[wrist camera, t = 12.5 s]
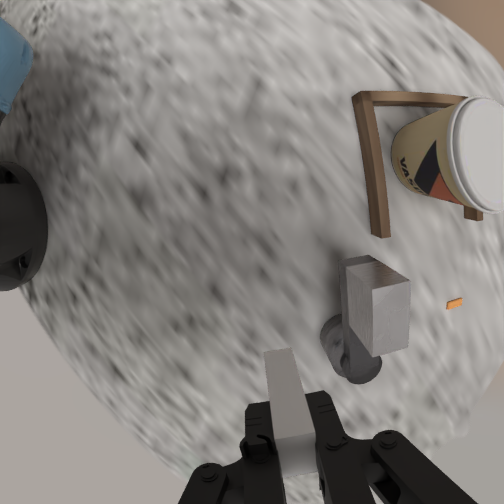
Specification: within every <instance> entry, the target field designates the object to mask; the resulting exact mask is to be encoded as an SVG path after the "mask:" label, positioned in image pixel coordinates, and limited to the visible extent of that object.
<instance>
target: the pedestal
mask: <svg viewBox="0 0 504 504" xmlns="http://www.w3.org/2000/svg"><path fill="white" fill-rule="evenodd" d="M320 340H321V344H322V346H323V348H324V350H325V352H326V354H327V356H328V358H329V360H330V362H331V364H332V366H333V369H334V370H335V372H336V373H337V374H338V375H340V376H342V377H345V378H346V376H345V374H344V372H343V370H342V368H341V366H340V359H341V356H342V354H343V353H344V347H343V324H342V314H338V315H336V316H334V317H332V318H331V319H329V320H328V321H327V322H326V323H325V325H324V326H323V328H322V330H321V334H320Z"/></svg>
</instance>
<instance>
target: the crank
mask: <svg viewBox="0 0 504 504" xmlns="http://www.w3.org/2000/svg"><path fill="white" fill-rule="evenodd" d="M338 266H339V278H340V291H341V306H342V324H343V347H344V353H343V354H342V356H341V359H340V366H341V368H342V370H343V372H344V374H345V376H346V378H347V379H348V381H349V382H351V383H353V384H364V383H367V382H369V381H371V380H372V379H373V378H375V377H376V376H377V374H378V373H379V371H380V369H381V367H382V360H381V357H380V355H383V354H387V353H390V352H394V351H397V350H400V349H404V348H407V347H408V340H409V324H410V296H411V281H410V280H409V279H407V278H406V277H404V276H402V275H401V274H399V273H398V272H396V271H394V270H393V269H391V268H389V267H388V266H386V265H385V264H383V263H381V262H380V261H378V260H376V259H375V258H373V257H371V256H370V255H365V256H360V257H355V258H349V259H344V260H339V261H338Z"/></svg>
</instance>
